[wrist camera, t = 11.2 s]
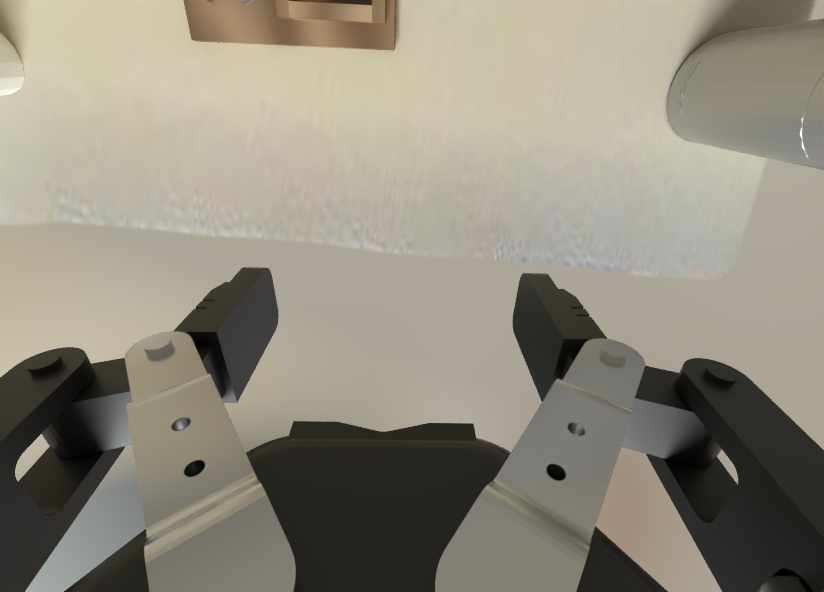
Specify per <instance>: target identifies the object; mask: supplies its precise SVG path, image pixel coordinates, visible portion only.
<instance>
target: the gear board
mask: <svg viewBox="0 0 824 592" xmlns="http://www.w3.org/2000/svg"><path fill="white" fill-rule="evenodd" d="M184 5H185V9H186V14H187V19H188V24H189V29H190V34H191V38H192V40H195V41H204V42H226V43H247V44H269V45H290V46H312V47H333V48H355V49H376V50H394V30H395V0H184Z"/></svg>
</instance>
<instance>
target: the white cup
mask: <svg viewBox="0 0 824 592" xmlns="http://www.w3.org/2000/svg"><path fill="white" fill-rule="evenodd" d="M23 80H24V70H23V63H22V61H21V59H20V57H19V55H18V53H17V51H16V49H15V48H14V47H13V45H12V44H11V43H10V42H9V41H8V40H7V39H6V37H5V36H4V35H3V34H1V33H0V96H2V95H8V94H13V93H14V92H16V91H17V90H18V89H20V88H21V86H22V83H23Z"/></svg>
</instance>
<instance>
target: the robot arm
mask: <svg viewBox="0 0 824 592" xmlns="http://www.w3.org/2000/svg"><path fill="white" fill-rule="evenodd" d="M667 115H668V121H669V123H670V125H671V127H672V129H673V130H674V131H675V133H676V134H677V135H678V136H680V137H681V138H683V139H685V140H688V141H691V142H695V143H700V144H704V145H709V146H714V147H718V148H722V149H727V150H732V151H736V152H741V153H746V154H750V155H755V156H760V157H765V158H769V159H774V160H779V161H783V162H789V163H793V164H798V165H802V166H807V167H812V168H817V169H821V170H824V19H819V20H811V21H804V22H797V23H790V24H783V25H777V26H768V27H761V28H754V29H748V30H741V31H734V32H729V33H724V34H721V35H719V36H716V37H714V38H712V39H710V40H709V41H707V42H706V43H704V44H702V45H701V46H700V47H699V48H698V49H696V50H695V51H694V52H693V53H692V54H691V55H690V56H689V57H688V59H687V60H686V61H685V62H684V63H683V65H682V66H681V68H680V69H679V71H678V72H677V74H676V76H675V78H674V80H673V83H672V85H671V87H670V91H669V95H668V99H667ZM277 324H278V307H277V302H276V297H275V290H274V285H273V279H272V275H271V272H270V270H269V269H268V268H249V267H248V268H247V267H243V268H242V269H241V270H240V271H239V272H238V273H237V274H236V275H235V277H234V278H233V279H232V280H231V281H230V282H225V283H223V284H222V285H220V286H218V287H216V288H214V289H213V290H211V291H210V292H209V294H208V295H207V296H206V297H205V298H204V299H203V301H201V302H200V303H199V304H198V305H197V306H196V309H194V310H193V311H192V312H191V313H190V314H189V315H188V316H187V317H186V318H185V319H184V320H183V321H182V323H181V324H180V325H179V326H178V327H177V328H176V329H175V330H174V331H170V332H163V333H159V334H155V335H152V336H149V337H146V338H145V339H142V340H140V341H139V342H137V343H135V344H134V345H133V346H132V347H130V348H129V350H128V351H127V352H126V354H125V358H122V359H116V360H110V361H104V362H99V363H93V364H91V363H90V361H89V359H88V357H87V355H86V353H85V352H84V351H83V350H82V349H79V348H74V347H67V348H58V349H53V350H49V351H46V352H43V353H40V354H37V355H35V356H32V357H30V358H28V359H26V360H24V361H22V362H21V363H19V364H17V365H16V366H15V367H13V368H12V369H11V370H9V371H8V372H7V373H6V374H4V375H3V376H2V377H0V592H25V590H26V589H27V588H28V586H29V585H30V583H31V582H32V580H33V579H34V577H35V576H36V575H37V573H38V572H39V570H40V569H41V567H42V566H43V564H44V563H45V562H46V560H47V559H48V557H49V556H50V554H51V553H52V551H53V550H54V549H55V547H56V546H57V544H58V543H59V541H60V540H61V539H62V537H63V536H64V534H65V533H66V531H67V530H68V529H69V527H70V526H71V524H72V523H73V521H74V520H75V518H76V517H77V516H78V514H79V513H80V511H81V510H82V508H83V507H84V505H85V504H86V503H87V501H88V500H89V498H90V497H91V495H92V494H93V493H94V491H95V490H96V488H97V487H98V485H99V484H100V482H101V481H102V480H103V478H104V477H105V475H106V474H107V472H108V471H109V470H110V468H111V467H112V465H113V464H114V462H115V461H116V459H117V458H118V457H119V455H120V453H121V452H122V451H123V449H124V448H125V446H128V445H133V452H134V458H135V464H136V470H137V476H138V483H139V489H140V495H141V501H142V508H143V514H144V520H145V526H146V529H145V530H144V531H142V532H141V533H140V534H139V535H137V536H136V537H135V538H133V539H132V540H131V541H129V542H128V543H127V544H126V545H124V546H123V547H122V548H120V549H119V550H118V551H116V552H115V553H114V554H112V555H111V556H110V557H109V558H107V559H106V560H105V561H103V562H102V563H101V564H100V565H98V566H97V567H96V568H94V569H93V570H92V571H90V572H89V573H88V574H86V575H85V576H84V577H83V578H81V579H80V580H79V581H77V582H76V583H75V584H73V585H72V586H71V587H69V588H68V589H67V590H66V591H64V592H668V591H667V590H665V589H664V588H663V587H662V586H661V585H660V584H659V583H658V582H657V581H656V580H654V579H653V578H652V577H651V576H650V575H649V574H648V573H647V572H646V571H644V570H643V569H642V568H641V567H640V566H639V565H638V564H637V563H636V562H634V561H633V560H632V559H631V558H630V557H629V556H628V555H627V554H626V553H624V552H623V551H622V550H621V549H620V548H619V547H618V546H617V545H616V544H615V543H613V542H612V541H611V540H610V539H609V538H608V537H607V536H606V535H605V534H604V533H602V532H601V531H600V530H599V529H598V528H597V527H596V522H597V519H598V516H599V513H600V510H601V507H602V504H603V501H604V498H605V495H606V492H607V489H608V485H609V482H610V479H611V476H612V473H613V470H614V467H615V464H616V461H617V458H618V455H619V452H620V448H621V447H625V448H628V449H632V450H635V451H639V452H642V453H646V455H647V457H648V459H649V461H650V462H651V464H652V466H653V468H654V469H655V471H656V473H657V475H658V477H659V478H660V480H661V482H662V484H663V486H664V488H665V489H666V491H667V493H668V494H669V496H670V498H671V500H672V502H673V503H674V505H675V507H676V509H677V511H678V513H679V514H680V516H681V518H682V520H683V521H684V524H685V525H686V527H687V529H688V531H689V532H690V534H691V536H692V538H693V540H694V542H695V543H696V545H697V547H698V548H699V551H700V552H701V554H702V556H703V558H704V560H705V561H706V563H707V565H708V567H709V568H710V570H711V572H712V574H713V576H714V577H715V579H716V581H717V583H718V585H719V586H720V588H721V590H722V592H824V450H823V449H822V448H820V447H819V445H818V444H817V443H815V442H814V441H813V440H812V439H811V438H810V437H809V436H808V435H807V434H806V433H805V432H804V431H803V430H802V429H801V428H800V427H799V426H798V425H797V424H796V423H795V422H794V421H793V420H792V419H791V418H790V417H789V416H788V415H786V414H785V413H784V412H783V411H782V410H781V409H780V408H779V407H778V406H777V405H776V404H775V403H774V402H773V401H772V400H771V399H770V398H769V397H768V396H767V395H766V394H764V392H763V391H761V390H760V389H759V388H758V387H757V386H756V385H755V384H754V383H753V382H752V381H751V380H750V379H749V378H748V377H747V376H745V375H744V374H743V373H741V372H739V371H738V370H736V369H734V368H732V367H730V366H728V365H725V364H723V363H720V362H717V361H714V360H709V359H702V358H694V359H690V360H687V361H686V362H685V363H684V364H683V367H682V369H681V370H680V372H679V373H676V372H671V371H667V370H662V369H657V368H653V367H649V366H645V361H644V359H643V357H642V356H641V355H640V354H639V353H638V352H637V351H636V350H634V349H633V348H631V347H629V346H627V345H626V344H623V343H621V342H618V341H615V340H610V339H607V338H606V336H605V335H604V334H603V332H602V331H601V330H600V328H599V327H598V326H597V324H596V323H595V322H594V320H593V319H592V318H591V317H589V314H588V312H587V311H586V310H585V309H583V306H582V304H581V303H580V302H579V300H578V299H577V298H576V297H575V296H573V295H572V294H570V293H569V292H567V291H566V290H564V289H558V288H557V287H556V285H555V284H554V282H553V281H552V279H551V278H550V277H549V275H548V274H532V273H530V274H529V273H523V274H522V275H521V278H520V281H519V287H518V292H517V297H516V303H515V308H514V313H513V331H514V334H515V337H516V339H517V342H518V344H519V347H520V349H521V352H522V354H523V356H524V359H525V361H526V364H527V366H528V369H529V371H530V374H531V376H532V379H533V381H534V384H535V386H536V388H537V391H538V393H539V396H540V398H541V401H542V403H541V405H540V407H539V408H538V410H537V412H536V413H535V415H534V416H533V418H532V420H531V421H530V423H529V425H528V426H527V428H526V429H525V431H524V433H523V434H522V436H521V438H520V439H519V441H518V442H517V444H516V445H515V447H514V449H513V450H512V452H509V451H508V450H506V449H504V448H502V447H499V446H498V445H496V444H493V443H491V442H488V441H485V440H482V439H478V438H476V435H475V430H474V425H473V424H460V423H457V424H455V423H427V424H422V425H418V426H413V427H408V428H403V429H398V430H393V431H388V432H379V431H375V430H370V429H366V428H362V427H358V426H353V425H349V424H345V423H340V422H306V421H304V422H303V421H302V422H301V421H300V422H299V421H294V422H293V425H292V428H291V431H290V434H289V436H286V437H282V438H278V439H275V440H272V441H269V442H267V443H264V444H262V445H260V446H258V447H256V448H254V449H252V450H250V451H249V452H247V453H245V450H244V448H243V446H242V444H241V441H240V439H239V437H238V435H237V433H236V430H235V428H234V426H233V424H232V421H231V419H230V417H229V415H228V413H227V411H226V408H225V406H224V404H223V403H237V402H238V400H239V398H240V396H241V394H242V392H243V391H244V389H245V387H246V385H247V383H248V381H249V379H250V377H251V375H252V373H253V372H254V370H255V368H256V366H257V364H258V362H259V360H260V358H261V356H262V355H263V353H264V351H265V349H266V347H267V345H268V343H269V341H270V339H271V338H272V336H273V334H274V332H275V330H276V328H277ZM40 434H42V435H43V437H44V438H45V440H46V441H47V443H48V444H49V446H50V447H49V448H48V449H47V450H46V452H45V453H44V454H43V455H42V456H41V457H40V458H39V459H38V460H37V461H36V463H35V464H34V465H33V466H32V467H31V468H30V469H29V470H28V472H27V473H26V474H25V475H24V476H23V477H22V478H21V479H20V480H19V482H18V481H17V480H16V477H15V467H16V464H17V461H18V459H19V458H20V456H21V455H22V453H23V452H24V451H25V450H26V449H27V448H28V447H29V446H30V445H31V444H32V443H33V442H34V440H36V439H37V437H38V436H39V435H40ZM721 449H722V450H723V451H724V452H725V453H726V455H727V456H728V458H729V459H730V460H731V461H732V463H733V464H734V466H735V468H736V471H737V474H738V485H737V483H736V482H735V481H734V479H733V478H732V477H731V476H730V474H729V473H728V471H727V470H726V468H725V467H724V466H723V464H722V463H721V462H720V460H719V459H718V458H717V455H718V454H719V452H720V451H721Z"/></svg>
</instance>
